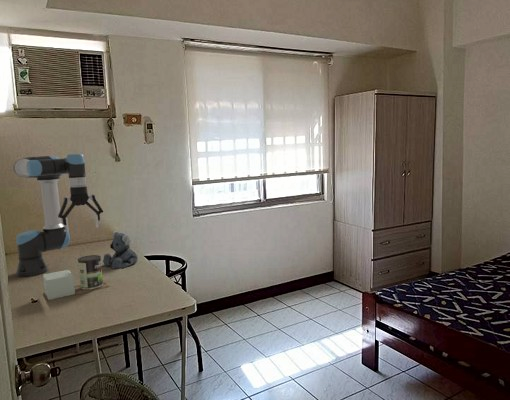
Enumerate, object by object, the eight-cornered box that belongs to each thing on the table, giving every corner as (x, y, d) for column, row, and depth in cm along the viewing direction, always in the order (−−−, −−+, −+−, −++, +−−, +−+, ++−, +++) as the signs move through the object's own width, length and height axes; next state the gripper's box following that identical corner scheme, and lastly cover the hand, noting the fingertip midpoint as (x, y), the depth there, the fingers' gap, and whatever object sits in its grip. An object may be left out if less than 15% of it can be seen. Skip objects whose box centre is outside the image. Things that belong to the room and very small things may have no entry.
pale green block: (45, 293, 190) (42, 274, 189) (70, 287, 196) (68, 269, 195) (48, 299, 181) (46, 280, 180) (75, 294, 187) (72, 275, 186)
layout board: (43, 295, 191) (43, 292, 190) (103, 282, 206) (102, 279, 205) (47, 304, 180) (47, 300, 180) (110, 289, 195) (109, 286, 195)
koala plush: (101, 265, 238) (98, 232, 235) (130, 258, 250) (127, 227, 248) (115, 271, 225) (112, 236, 223) (144, 263, 238) (141, 230, 235)
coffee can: (106, 282, 201) (104, 254, 199) (98, 289, 191) (95, 260, 189) (86, 282, 202) (83, 255, 200) (76, 290, 191) (73, 261, 190)
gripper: (50, 189, 185) (55, 234, 188) (107, 184, 199) (111, 226, 202) (48, 188, 191) (53, 232, 194) (103, 183, 205) (107, 224, 208)
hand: (82, 229), depth 198 cm, fingers open, 13 cm apart
